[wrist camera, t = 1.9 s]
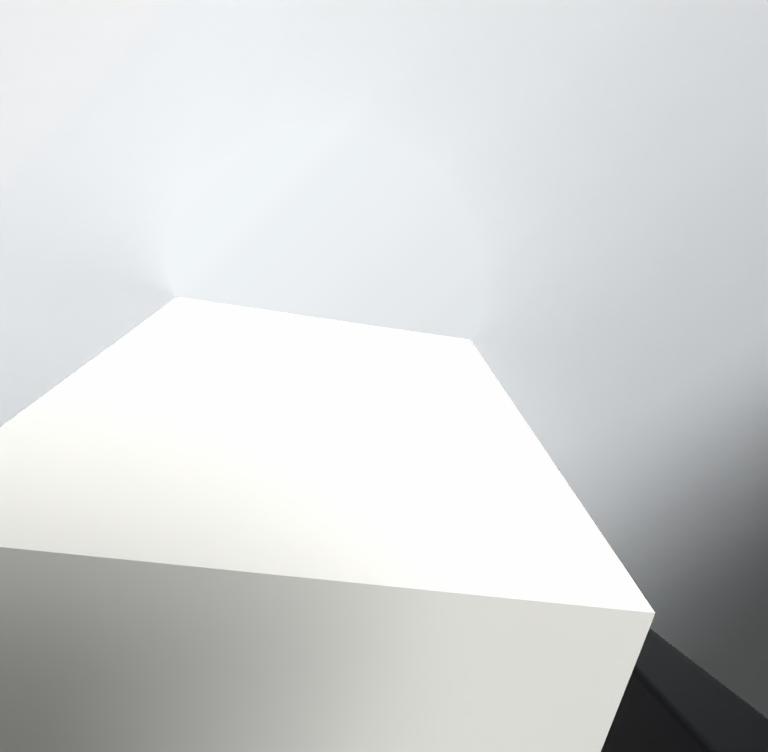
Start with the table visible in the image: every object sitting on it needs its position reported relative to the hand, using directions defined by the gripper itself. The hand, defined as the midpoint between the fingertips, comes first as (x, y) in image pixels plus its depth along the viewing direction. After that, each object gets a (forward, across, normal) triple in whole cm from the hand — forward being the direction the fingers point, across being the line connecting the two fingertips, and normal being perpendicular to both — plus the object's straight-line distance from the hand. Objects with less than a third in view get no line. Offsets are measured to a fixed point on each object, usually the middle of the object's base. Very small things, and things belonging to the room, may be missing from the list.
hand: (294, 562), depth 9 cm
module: (+1, 0, 0) cm, 1 cm away
